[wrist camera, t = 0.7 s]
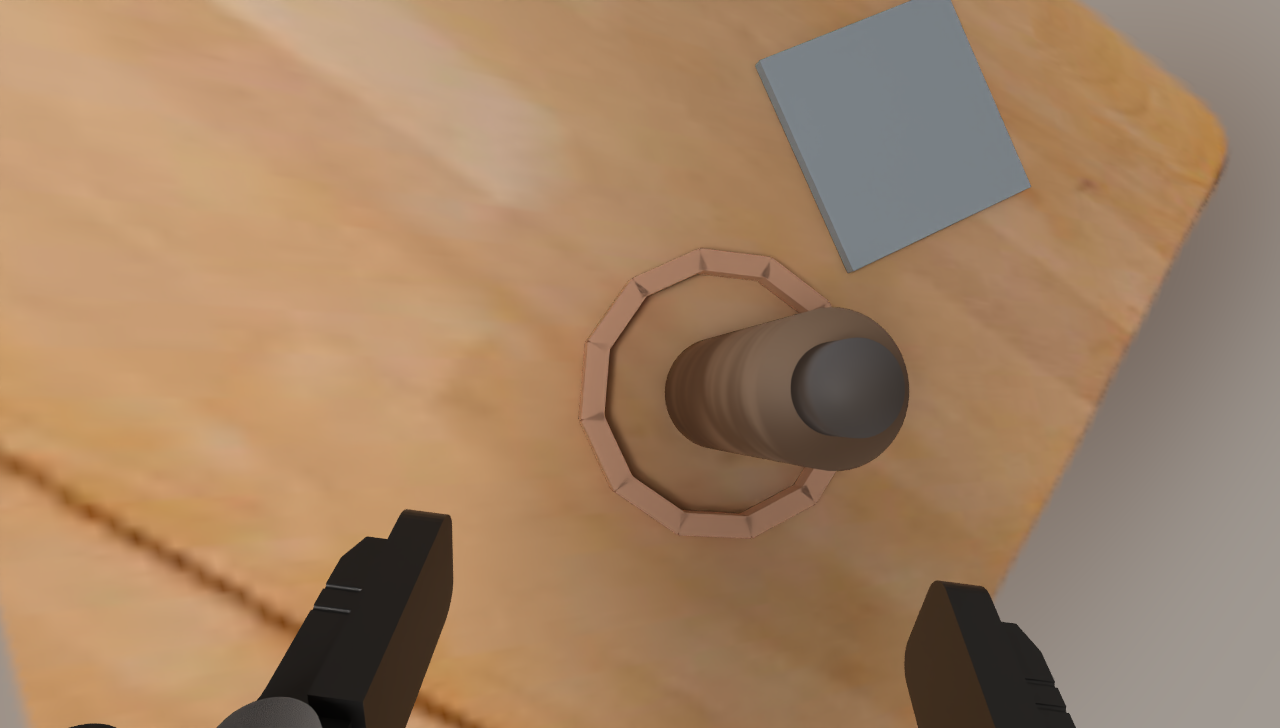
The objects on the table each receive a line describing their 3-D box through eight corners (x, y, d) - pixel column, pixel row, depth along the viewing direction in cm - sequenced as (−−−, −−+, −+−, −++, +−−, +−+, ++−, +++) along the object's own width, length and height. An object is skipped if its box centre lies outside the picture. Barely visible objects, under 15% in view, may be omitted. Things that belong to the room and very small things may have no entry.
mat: (754, 65, 37) (759, 60, 37) (937, -7, 40) (944, -13, 39) (847, 273, 38) (853, 271, 37) (1023, 189, 40) (1031, 186, 40)
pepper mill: (646, 366, 36) (748, 344, 22) (743, 320, 37) (895, 273, 23) (693, 468, 36) (821, 506, 23) (788, 419, 37) (964, 428, 24)
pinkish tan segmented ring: (533, 323, 35) (535, 321, 34) (779, 213, 37) (787, 208, 36) (654, 583, 35) (659, 588, 34) (888, 456, 38) (899, 458, 37)
